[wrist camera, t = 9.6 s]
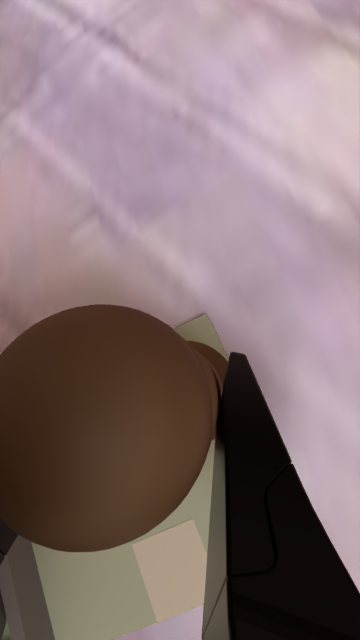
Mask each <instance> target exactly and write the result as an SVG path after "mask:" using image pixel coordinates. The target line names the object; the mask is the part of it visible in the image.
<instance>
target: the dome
mask: <svg viewBox="0 0 360 640" xmlns="http://www.w3.org/2000/svg"><path fill="white" fill-rule="evenodd" d="M5 625H6V613H5V608H4V604H3V599H2V594H1V589H0V640H1V639H2V636H3V633H4V629H5Z"/></svg>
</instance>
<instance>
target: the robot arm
mask: <svg viewBox="0 0 360 640" xmlns="http://www.w3.org/2000/svg"><path fill="white" fill-rule="evenodd" d="M291 462H292V461H291V458H290V456H289V454H288V451H287V449H286V447H285V444H284V442H283V440H282V438H281V435H280V433H279V431H278V428H277V426H276V424H275V421H274V419H273V417H272V415H271V412H270V410H269V408H268V405H267V403H266V401H265V399H264V396H263V394H262V392H261V389H260V387H259V385H258V382H257V380H256V378H255V376H254V373H253V371H252V369H251V366H250V364H249V362H248V359H247V357H246V355H244V354H241V353H236V352H231V353H230V356H229V360H228V365H227V369H226V374H225V379H224V385H223V391H222V396H221V402H220V410H219V417H218V421H217V426H216V435H215V449H214V463H213V478H212V493H211V507H210V522H209V537H208V551H207V566H206V581H205V595H204V610H203V625H202V640H360V593H359V591H358V589H357V587H356V585H355V584H354V582H353V580H352V578H351V576H350V575H349V573H348V571H347V569H346V568H345V566H344V564H343V562H342V560H341V559H340V557H339V555H338V553H337V551H336V550H335V548H334V546H333V544H332V542H331V541H330V539H329V537H328V535H327V533H326V531H325V529H324V527H323V526H322V524H321V522H320V520H319V518H318V516H317V514H316V512H315V511H314V509H313V506H312V504H311V502H310V500H309V498H308V496H307V494H306V492H305V489H304V487H303V485H302V483H301V481H300V479H299V476H298V474H297V472H296V469H295V467H294V465H293V464H291ZM17 536H18V534H17V533H16V532H14V531H13V530H12V529H10V528H9V527H8V526H7V525H6V524H5V523H4V522H3V521H2V520H1V519H0V565H1V564H2V562H3V560H4V558H5V556H6V555H7V553H8V551H9V550H10V548H11V546H12V545H13V543H14V541H15V540H16V538H17Z"/></svg>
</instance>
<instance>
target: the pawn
mask: <svg viewBox="0 0 360 640" xmlns="http://www.w3.org/2000/svg"><path fill="white" fill-rule="evenodd" d="M227 365H228V362H227V360H226V359H225V358H224V357H223V356H222V355H221V354H220V353H219V352H218V351H216V350H215V349H213V348H212V347H210V346H208V345H206V344H203V343H200V342H195V341H186V340H185V339H184V338H182V337H181V336H180V335H179V334H178V333H177V332H176V331H174V330H173V329H172V328H171V327H169V326H168V325H167V324H165V323H163V322H162V321H160V320H159V319H157V318H155V317H153V316H151V315H149V314H147V313H144V312H142V311H140V310H136V309H132V308H129V307H123V306H116V305H89V306H82V307H76V308H72V309H68V310H65V311H62V312H59V313H57V314H55V315H52V316H50V317H48V318H45V319H43V320H42V321H40V322H38V323H36V324H35V325H33V326H32V327H30V328H29V329H27V330H26V331H25V332H23V333H22V334H21V335H20V336H19V337H17V338H16V339H15V340H14V341H13V342H12V343H11V344H10V345H9V346H8V347H7V348H6V349H5V350H4V351H3V352H2V354H1V355H0V519H1V520H2V521H3V522H4V523H5V524H6V525H7V526H8V527H9V528H10V529H12V530H13V531H14V532H16V533H17V534H18V535H20V536H21V537H23V538H25V539H27V540H29V541H31V542H33V543H36V544H38V545H41V546H44V547H47V548H50V549H53V550H58V551H64V552H96V551H102V550H108V549H111V548H114V547H117V546H120V545H123V544H126V543H128V542H131V541H133V540H135V539H137V538H139V537H141V536H143V535H145V534H147V533H148V532H149V531H151V530H152V529H153V528H155V527H156V526H158V525H159V524H160V523H162V522H163V521H164V520H165V519H166V518H167V517H168V516H169V515H170V514H171V513H172V512H173V511H175V510H176V509H177V508H178V506H179V505H180V504H181V503H182V501H183V500H184V499H185V498H186V496H187V495H188V494H189V492H190V490H191V488H192V487H193V485H194V483H195V482H196V480H197V478H198V476H199V475H200V472H201V470H202V468H203V465H204V463H205V460H206V457H207V454H208V451H209V448H210V445H211V441H212V440H214V439H215V435H216V426H217V421H218V417H219V410H220V402H221V396H222V391H223V385H224V379H225V374H226V369H227Z"/></svg>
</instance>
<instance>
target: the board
mask: <svg viewBox="0 0 360 640" xmlns="http://www.w3.org/2000/svg"><path fill="white" fill-rule="evenodd" d="M173 330H174V331H176V332H177V333H178V334H179V335H180V336H181V337H182V338H184V339H185V340H186V341H195V342H200V343H203V344H206V345H208V346H210V347H212V348H213V349H215V350H216V351H218V352H219V353H220V354H221V355H222V356H223V357H224V358H225V359H226V360H227V362H228V360H229V358H228V356H227V354H226V352H225V350H224V348H223V346H222V344H221V342H220V340H219V338H218V336H217V333H216V331H215V329H214V327H213V325H212V323H211V321H210V319H209V317H208V315H207V313H206V314H204V315H202V316H200V317H198V318H196V319H194V320H192V321H189V322H187V323H185V324H183V325H181V326H179V327H177V328H175V329H173ZM214 449H215V439H214V440H212V441H211V445H210V448H209V451H208V454H207V457H206V460H205V463H204V465H203V468H202V470H201V472H200V475H199V476H198V478H197V480H196V482H195V483H194V485H193V487H192V488H191V490H190V492H189V494H188V495H187V496H186V498H185V499H184V500H183V501H182V503H181V504H180V505H179V506H178V508H177V509H176V510H175V511H173V512H172V513H171V514H170V515H169V516H168V517H167V518H166V519H165V520H164V521H163V522H162V523H160V524H159V525H158V526H156V527H155V528H153V529H152V530H151V531H149V532H148V533H147V534H145V535H143V536H141V537H139V538H137V539H135V540H133V541H131V542H128V543H126V544H123V545H120V546H117V547H114V548H111V549H108V550H102V551H96V552H64V551H58V550H53V549H50V548H47V547H44V546H41V545H38V544H36V543H33V542H31V541H29V540H27V539H25V538H23V537H21V536H20V535H18V536H17V538H16V540H15V541H14V543H13V545H12V546H11V548H10V550H9V551H8V553H7V555H6V556H5V558H4V560H3V562H2V564H1V565H0V589H1V594H2V599H3V604H4V608H5V613H6V625H5V629H4V633H3V636H2V639H1V640H113V639H116V638H118V637H121V636H123V635H126V634H128V633H131V632H133V631H136V630H138V629H141V628H144V627H146V626H149V625H151V624H154V623H156V622H157V623H158V622H160V621H163V620H165V619H168V618H170V617H173V616H175V615H178V614H180V613H183V612H185V611H188V610H191V609H193V608H196V607H198V606H201V605H203V604H204V595H205V581H206V566H207V551H208V537H209V522H210V507H211V493H212V478H213V463H214Z"/></svg>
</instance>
